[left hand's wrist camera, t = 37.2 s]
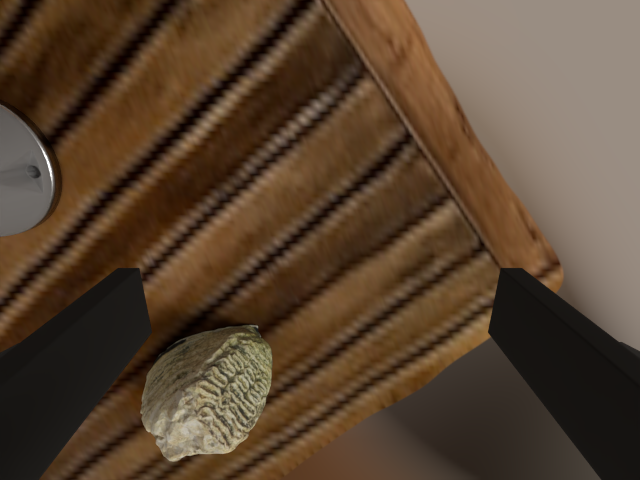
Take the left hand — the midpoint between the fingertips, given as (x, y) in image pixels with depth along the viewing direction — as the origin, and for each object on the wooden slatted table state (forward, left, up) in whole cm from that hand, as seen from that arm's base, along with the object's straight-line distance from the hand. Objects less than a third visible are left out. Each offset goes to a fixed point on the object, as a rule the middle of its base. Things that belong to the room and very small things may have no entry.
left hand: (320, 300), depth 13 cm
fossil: (-27, -8, -28) cm, 39 cm away
